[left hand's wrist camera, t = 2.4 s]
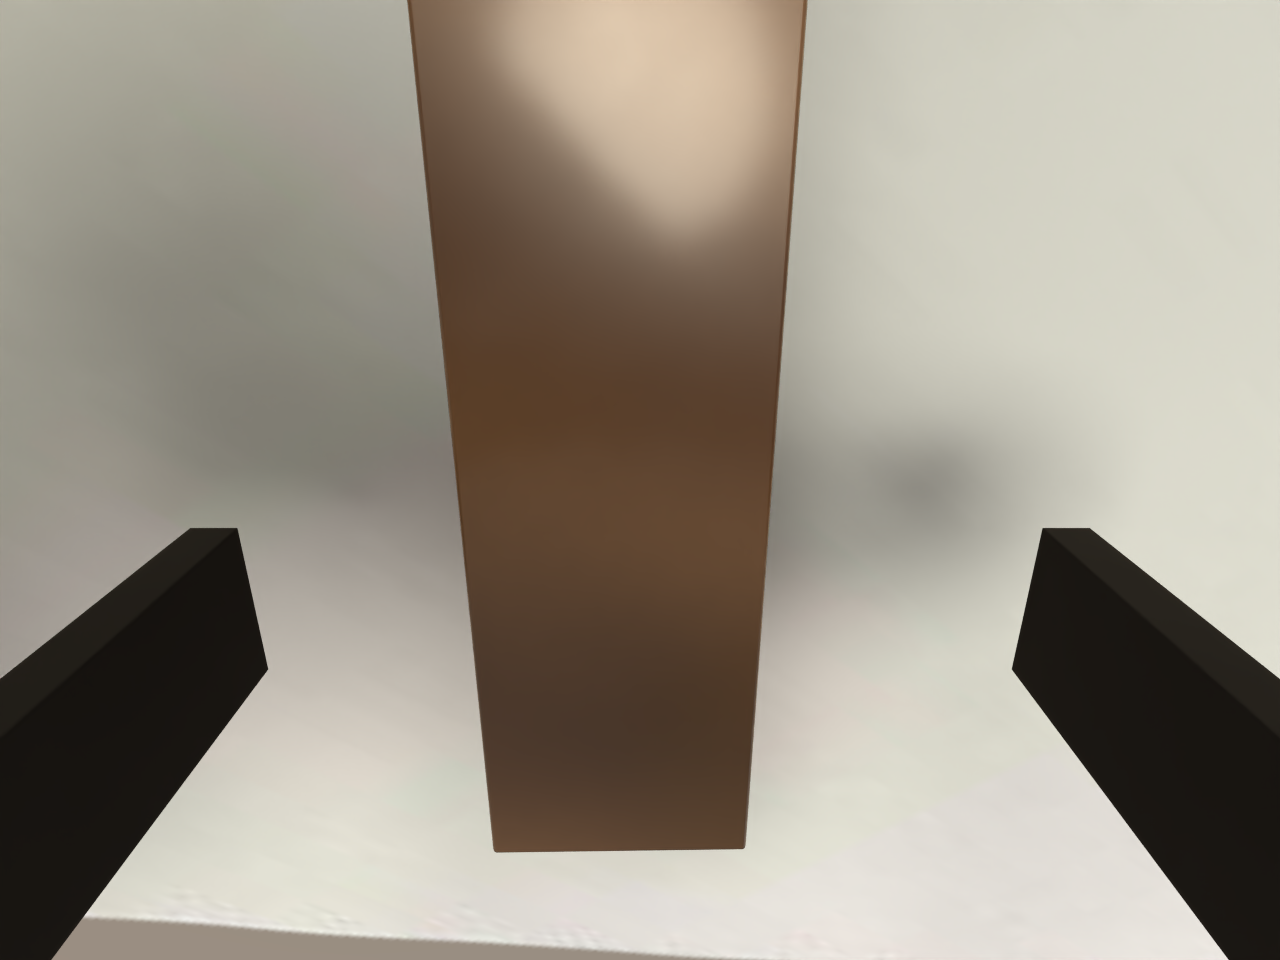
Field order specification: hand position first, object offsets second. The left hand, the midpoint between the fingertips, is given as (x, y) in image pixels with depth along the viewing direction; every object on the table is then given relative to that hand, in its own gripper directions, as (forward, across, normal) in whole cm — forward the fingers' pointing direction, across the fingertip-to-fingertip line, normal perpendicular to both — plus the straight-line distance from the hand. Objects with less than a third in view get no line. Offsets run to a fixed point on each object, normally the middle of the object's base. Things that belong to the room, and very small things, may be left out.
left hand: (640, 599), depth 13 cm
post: (+6, 0, -35) cm, 35 cm away
